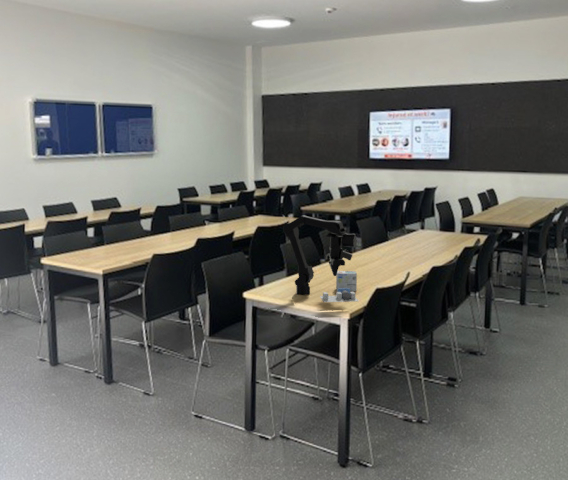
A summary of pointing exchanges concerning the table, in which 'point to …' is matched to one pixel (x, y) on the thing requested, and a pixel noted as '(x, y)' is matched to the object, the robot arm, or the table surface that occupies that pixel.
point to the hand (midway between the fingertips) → (334, 275)
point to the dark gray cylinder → (346, 295)
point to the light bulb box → (346, 280)
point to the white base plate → (338, 296)
